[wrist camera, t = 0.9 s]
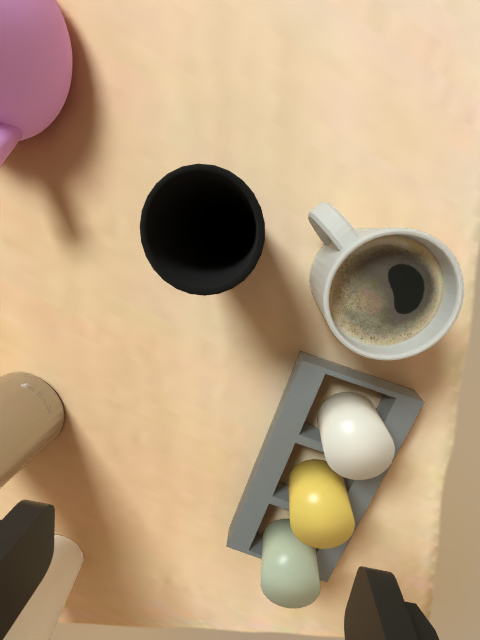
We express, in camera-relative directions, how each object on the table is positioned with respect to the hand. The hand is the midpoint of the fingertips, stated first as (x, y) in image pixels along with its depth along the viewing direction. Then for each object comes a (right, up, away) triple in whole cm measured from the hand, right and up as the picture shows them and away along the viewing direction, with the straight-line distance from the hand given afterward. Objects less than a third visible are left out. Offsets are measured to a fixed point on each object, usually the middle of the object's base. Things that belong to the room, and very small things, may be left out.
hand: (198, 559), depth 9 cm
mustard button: (+9, -11, +26) cm, 29 cm away
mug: (+12, +11, +23) cm, 28 cm away
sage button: (+6, -18, +28) cm, 34 cm away
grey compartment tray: (+9, -10, +29) cm, 32 cm away
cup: (0, +15, +23) cm, 27 cm away
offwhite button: (+11, -3, +24) cm, 27 cm away
